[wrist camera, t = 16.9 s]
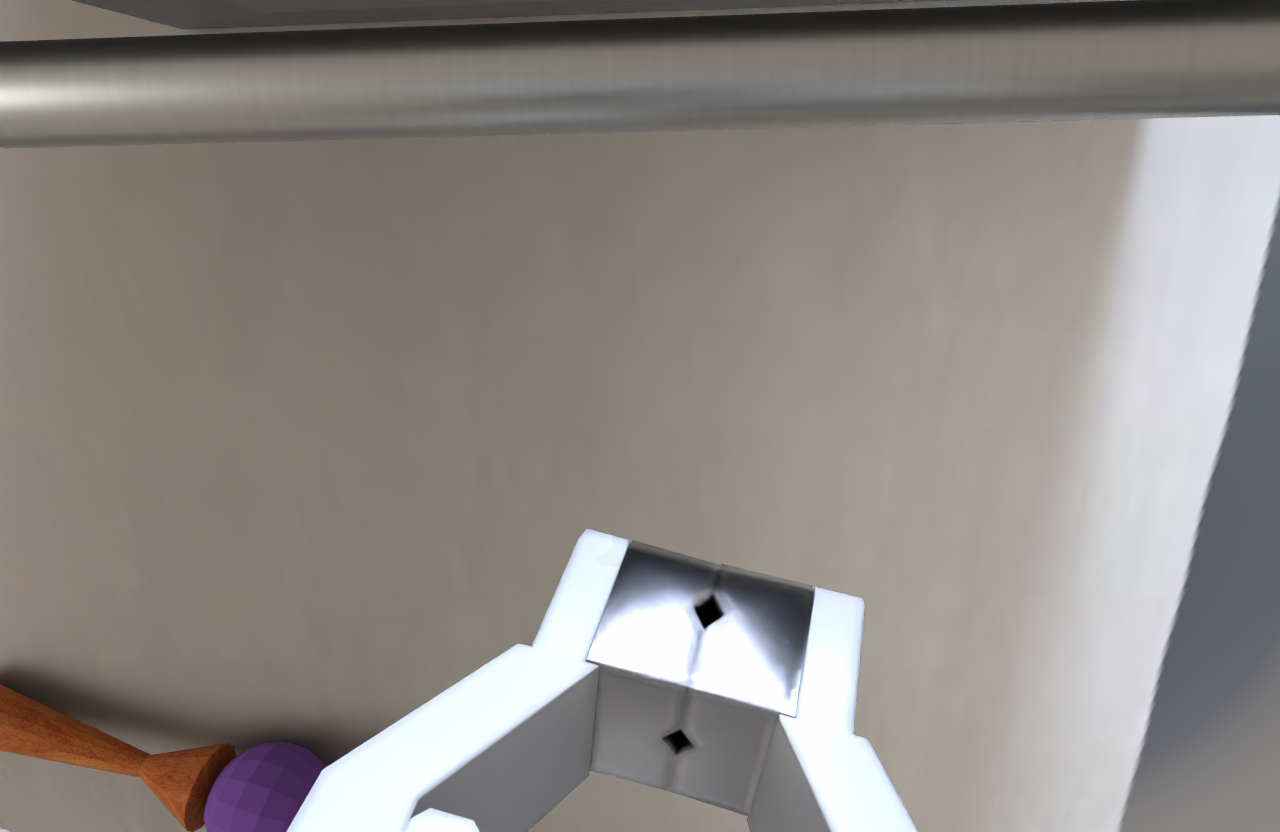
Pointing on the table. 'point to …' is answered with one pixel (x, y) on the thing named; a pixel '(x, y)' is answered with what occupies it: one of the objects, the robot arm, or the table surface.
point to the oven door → (630, 69)
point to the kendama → (174, 769)
